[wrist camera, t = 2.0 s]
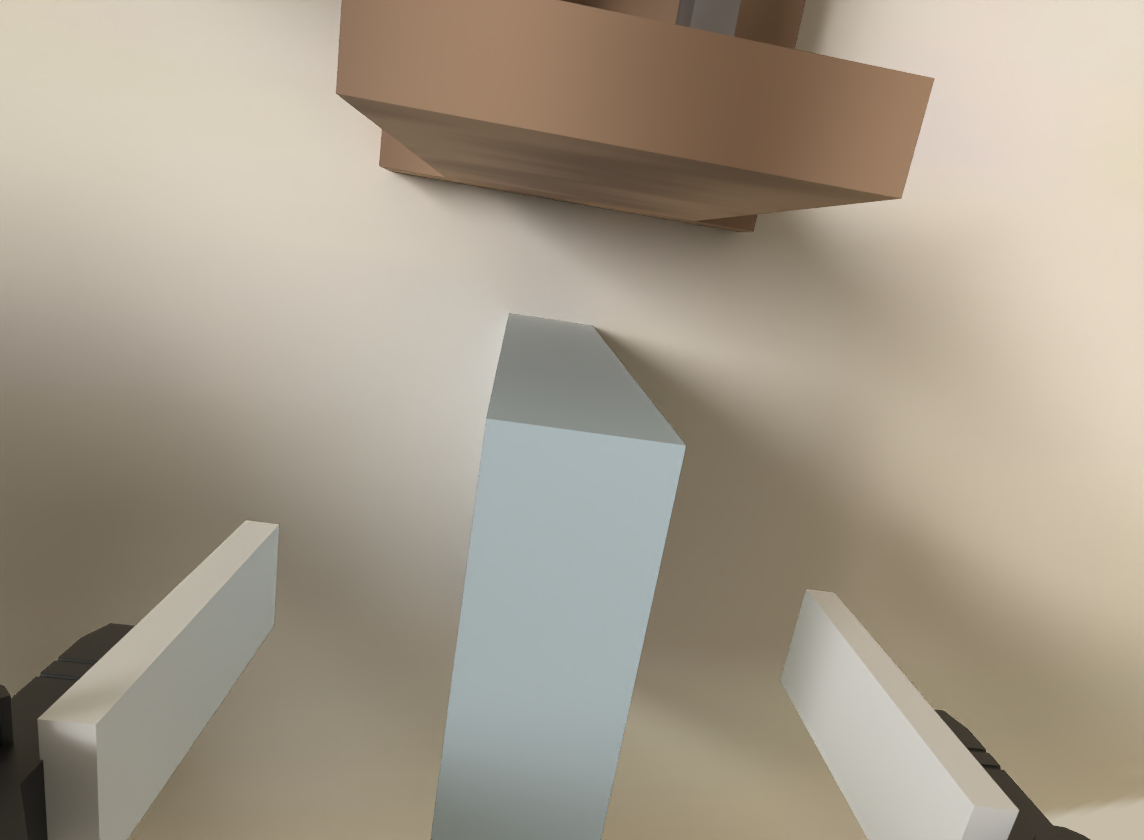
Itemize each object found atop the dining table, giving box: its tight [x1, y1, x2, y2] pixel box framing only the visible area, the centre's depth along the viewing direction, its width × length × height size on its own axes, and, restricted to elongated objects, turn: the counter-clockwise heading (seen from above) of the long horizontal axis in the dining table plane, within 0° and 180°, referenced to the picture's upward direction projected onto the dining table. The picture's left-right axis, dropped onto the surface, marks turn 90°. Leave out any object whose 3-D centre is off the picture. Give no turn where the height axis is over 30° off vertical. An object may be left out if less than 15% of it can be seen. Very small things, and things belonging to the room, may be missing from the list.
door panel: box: [431, 313, 686, 840], centre depth 18 cm, size 3×12×14 cm, turn 171°
